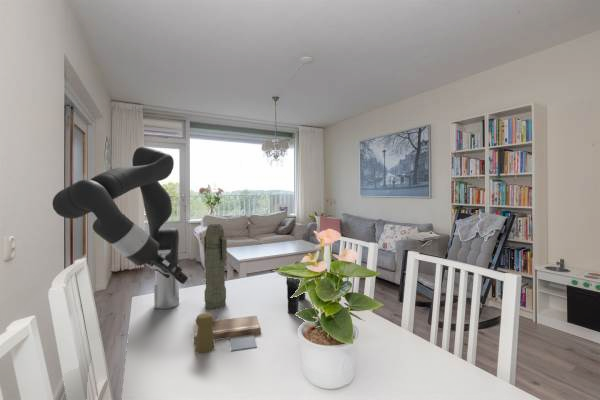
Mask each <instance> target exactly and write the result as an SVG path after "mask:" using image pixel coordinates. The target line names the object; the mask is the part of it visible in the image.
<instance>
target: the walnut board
mask: <svg viewBox="0 0 600 400" xmlns="http://www.w3.org/2000/svg"><path fill="white" fill-rule="evenodd" d="M197 330H198V326H197V324H196V323H195V328H194V335H193V339H194V340H193V342H194V343H196V338H197ZM212 331H213V338H214V341H216V340H220V339H221V340H222V339H228V338H229V339H230V337H237V336H244V335H251V334H254V335H258V334H261V332H262V329H261V325H260V321H259V319H258V315H252V316H251V315H249V316H240V317H233V318H227V319H226V318H224V319H216V320H215V319H214V320H213V323H212Z"/></svg>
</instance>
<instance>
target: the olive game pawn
mask: <svg viewBox="0 0 600 400" xmlns="http://www.w3.org/2000/svg"><path fill="white" fill-rule="evenodd" d="M213 321H214V316H213V314H212V313H210V312H202V313H199V314H198V315H197V316H196V319H195V325H196V324H197V326H198V330H197V338H196V342H195V347H194V351H195V353H197V354H200V355H203V354H208V353H211V352H212V351H214V349H216V346H215V340H214V338H213V331H212V323H213Z"/></svg>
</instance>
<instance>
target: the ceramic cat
mask: <svg viewBox="0 0 600 400" xmlns="http://www.w3.org/2000/svg"><path fill="white" fill-rule="evenodd" d="M295 264H296V265H298V264H299V261H295V263H294V265H295ZM299 283H300V280H299V279H294V278H288V277H287V276H286V292H287V293H286V298H287V313H288V314H290V315H296V314H295V313H296V312H297V313H298V312H299V302H300V301H305V300H306V293H303V294H301V295H299V296H297V297H293V298H290V297H291V296H292V295H293V294H294V293H295V291H296V290H297V289H298V287H299Z"/></svg>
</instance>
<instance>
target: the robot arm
mask: <svg viewBox="0 0 600 400" xmlns="http://www.w3.org/2000/svg"><path fill="white" fill-rule="evenodd" d="M174 161H175V160H174V158H173V156H172V155H171V154H169V153H167V152H165V151H162V150H158V149H155V148H152V147H149V146H148V147H147V146H140V147H138V148H136V149H135V150H134V152H133V155H132V166H121V167H116V168H112V169H109V170H107V171H104V172H101V173H99V174H97V175H95V176H94V177H92V178H90V179H81V180H78V181H77V182H75V183H73V184H71V185H69V186H67V187H66V188H63V189H62V190H60V191H58V192H57V193H56V194H55V195H54V196H53V199H52V209H53V210H54V212H55V213H56V214H57V215H58V216H61V217H62V218H65V219H79V218H82V217H84V216H86V215H87V214H89V213H93V215H94V216H95V217H96V219H95V220H94V221H93V224H92V230H93V231H94V233H96V235H98V236H99V237H100V238H102V239H103V240H104V241H105V242H107V243H108V244H109V245H111V246H112V248H114V249H115V250H116V251H117V252H118V253H119V254H121V255H122V256H123V257H125V258H126V259H127V260H129V261H130V262H131V263H133V264H134V265H136V266H143V265H146V266H147V267H149V269H150V270H154V281H155V283H154V287H153V288H154V289H153V291H154V292H153V294H154V295H153V297H154V300H153V301H154V302H153V303H154V305H153V306H154V309H159V310H160V309H161V310H163V309H164V310H165V309H167V310H168V309H170V308H174V307H176V306H178V305H179V304H180V284H182V285H184V284H185V283H186V282H187V280H188V276H187V275H186V274H184V273H183V272H182V270H183V269H182V268H181V267H180V266H179V246H180V245H179V243H180V235H179V234H180V233H179V230H178V229H177V228H175V227H169V228H167V227H166V228H164V227H163V228H162V226H163V225H164V224H165V223H166V222H167V221H168V219H170V217H171V215H172V213H173V207H172V206H173V205H172V199H171V196H170V195H169V193H168V192H167V190H166V189H165V188H164V187H163V185H161V183H160V181H163V180H166V179H167V178H168V177H169V176H170V175H171V174H172V172H173V169H174V165H175V162H174ZM137 188H139V189H140V192H141V197H142V200H143V201H142V202H143V207H144V212H145V216H146V219H147V224H148V231H149V233H148V232H146V231H145V230H144V229H143V228H142V227H140V226H139V225H138V224H135V222H134V221H132V220H130V218H128V217H127V216H126V215H125V214H124V213H123V212H122V211H121V210H120V208H119V206H117V204H116V202H115V201H114V200H115V199H117V198H119V197H121V196H123V195H125V194H126V193H128V192H130V191H132V190H135V189H137ZM169 250H170V251H169ZM159 251H169V253H167V254H166V255H164V254H163V253H159Z"/></svg>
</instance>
